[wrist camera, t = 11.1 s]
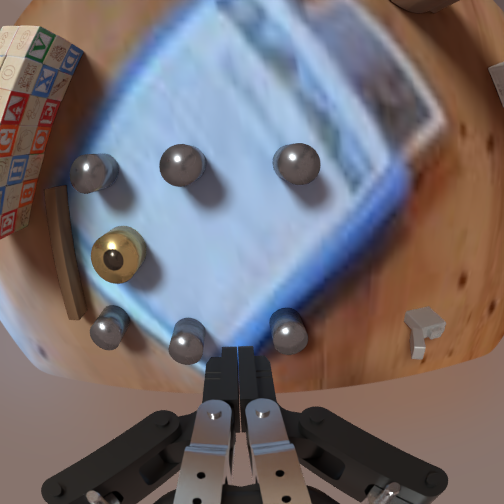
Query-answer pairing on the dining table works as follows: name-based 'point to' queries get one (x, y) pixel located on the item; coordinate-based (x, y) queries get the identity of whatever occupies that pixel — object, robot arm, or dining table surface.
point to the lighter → (423, 329)
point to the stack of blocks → (28, 112)
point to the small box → (498, 79)
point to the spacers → (181, 174)
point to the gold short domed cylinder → (118, 254)
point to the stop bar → (64, 251)
